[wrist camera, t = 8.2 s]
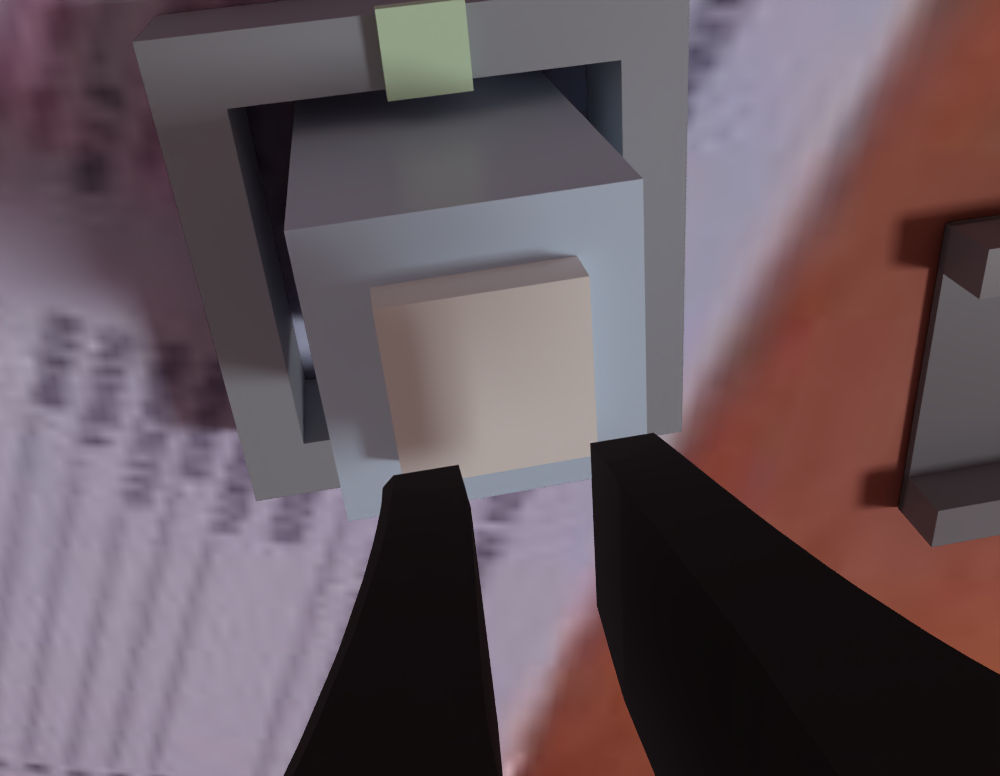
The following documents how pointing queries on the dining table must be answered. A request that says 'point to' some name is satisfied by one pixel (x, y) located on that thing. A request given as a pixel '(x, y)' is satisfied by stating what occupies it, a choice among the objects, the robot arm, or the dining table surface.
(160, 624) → the dining table surface
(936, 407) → the grey ridged plate
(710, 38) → the dining table surface
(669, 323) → the port
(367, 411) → the plug
